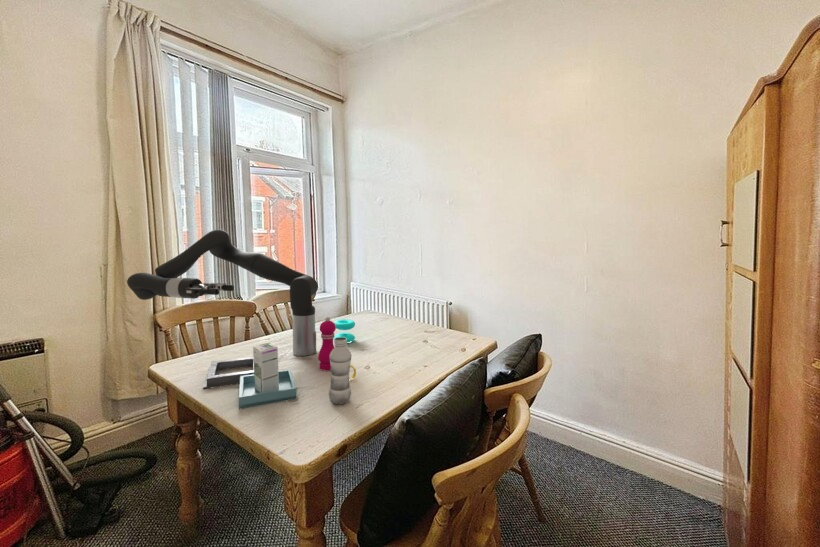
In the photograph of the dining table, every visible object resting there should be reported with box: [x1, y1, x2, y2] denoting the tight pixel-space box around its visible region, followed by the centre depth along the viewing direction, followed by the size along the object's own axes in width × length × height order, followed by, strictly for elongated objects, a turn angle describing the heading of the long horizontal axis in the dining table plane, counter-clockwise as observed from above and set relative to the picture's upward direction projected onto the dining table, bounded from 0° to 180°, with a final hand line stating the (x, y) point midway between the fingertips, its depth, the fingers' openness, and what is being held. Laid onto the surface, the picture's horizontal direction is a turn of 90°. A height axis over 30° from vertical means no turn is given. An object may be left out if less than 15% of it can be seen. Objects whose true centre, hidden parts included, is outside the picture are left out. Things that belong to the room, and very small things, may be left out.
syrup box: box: [252, 342, 279, 393], centre depth 106 cm, size 6×6×14 cm
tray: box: [238, 368, 298, 410], centre depth 107 cm, size 16×16×4 cm
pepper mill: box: [317, 316, 337, 371], centre depth 128 cm, size 7×7×20 cm
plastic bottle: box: [328, 337, 353, 405], centre depth 102 cm, size 6×7×20 cm
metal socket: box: [202, 356, 254, 389], centre depth 120 cm, size 18×18×3 cm
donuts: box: [333, 318, 356, 342], centre depth 160 cm, size 10×10×10 cm
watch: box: [350, 363, 357, 379], centre depth 118 cm, size 6×3×6 cm, turn 119°
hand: (226, 289), depth 122 cm, fingers open, 8 cm apart
